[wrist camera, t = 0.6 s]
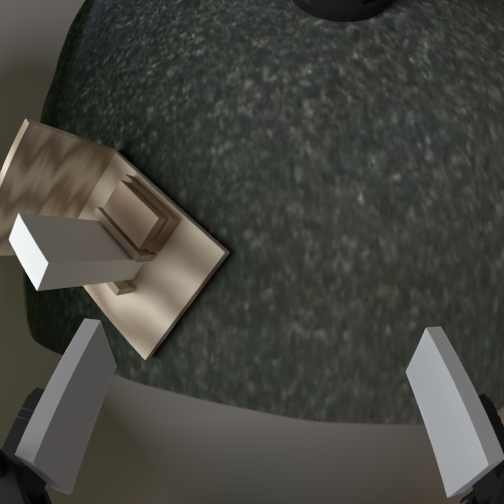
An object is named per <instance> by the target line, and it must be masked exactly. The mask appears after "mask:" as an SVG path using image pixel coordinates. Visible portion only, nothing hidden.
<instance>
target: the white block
mask: <svg viewBox="0 0 504 504" xmlns="http://www.w3.org/2000/svg"><path fill="white" fill-rule="evenodd" d="M9 241H10V243H11V245H12V247H13V249H14V251H15V253H16V254H17V256H18V258H19V260H20V262H21V264H22V265H23V267H24V269H25V271H26V273H27V274H28V276H29V278H30V279H31V281H32V283H33V285H34V286H35V288H36V290H37V291H40V290H48V289H57V288H66V287H74V286H83V285H91V284H100V283H108V282H116V281H124V280H132V279H134V278H135V276H136V275H137V273H138V271H139V270H140V268H141V267H142V265H143V264H144V262H136V261H135V260H134V259H133V258H132V257H131V256H130V255H129V253H128V252H127V251H126V250H125V249H124V248H123V247H122V246H121V245H120V243H119V242H118V241H117V240H116V239H115V238H114V237H113V235H112V234H111V233H110V232H109V231H108V230H107V229H106V227H105V226H104V225H103V224H102V223H101V222H100V221H96V220H86V219H76V218H65V217H55V216H44V215H34V214H23V213H18V216H17V218H16V221H15V224H14V226H13V229H12V232H11V234H10V237H9Z"/></svg>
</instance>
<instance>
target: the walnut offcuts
mask: <svg viewBox="0 0 504 504" xmlns="http://www.w3.org/2000/svg"><path fill="white" fill-rule="evenodd" d="M103 209H104V211H105V212H106V213H107V214H108V215H109V216H110V217H111V219H112V220H113V221H114V222H115V223H116V224H117V225H118V226H119V227H120V228H121V230H122V231H123V232H124V233H125V234H126V235H127V236H128V237H129V238H130V239H131V240H132V242H133V243H134V244H135V245H136V246H137V247H138V248H139V249H148V250H149V251H150V252H160V250H161V249H162V247H163V246H164V244H165V243H166V241H167V240H168V238H169V237H170V235H171V234H172V232H173V231H174V229H175V228H176V226H177V225H178V224H179V222H180V221H181V220H180V219H179V218H178V217H177V216H176V215H175V214H174V213H173V212H172V211H171V210H169V209H168V208H167V207H166V206H165V205H164V204H163V203H162V202H161V201H160V200H159V199H158V198H157V197H155V196H154V195H153V194H152V193H151V192H150V191H149V190H148V189H147V188H146V187H145V186H144V185H143V184H142V183H140V182H139V181H138V180H137V179H136V178H135V177H134V176H131V175H128V174H124V176H123V177H122V179H121V180H120V181H119V182H118V184H117V186H116V187H115V189H114V190H113V192H112V194H111V196H110V197H109V199H108V201H107V202H106V204H105V206H104V208H103Z"/></svg>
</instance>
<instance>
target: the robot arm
mask: <svg viewBox="0 0 504 504" xmlns="http://www.w3.org/2000/svg"><path fill="white" fill-rule="evenodd" d="M293 1H294V3H295V4H296V5H297V6H298V7H299V8H300V9H302V10H303V11H305V12H307V13H308V14H311V15H313V16H316V17H319V18H322V19H327V20H333V21H356V20H362V19H366V18H369V17H372V16H374V15H376V14H378V13H380V12H381V11H383V10H384V9H385V8H386V7H387V6H388V4H389V2H390V0H293ZM116 367H117V365H116V363H115V360H114V357H113V355H112V352H111V349H110V346H109V344H108V341H107V338H106V335H105V332H104V329H103V326H102V323H101V320H93V319H84V321H83V322H82V324H81V326H80V327H79V329H78V331H77V332H76V334H75V336H74V338H73V339H72V341H71V343H70V345H69V346H68V348H67V350H66V352H65V353H64V355H63V357H62V359H61V361H60V363H59V364H58V366H57V368H56V370H55V372H54V374H53V375H52V377H51V379H50V381H49V383H48V385H47V387H46V389H45V390H44V389H41V388H36V389H35V390H33V391H32V393H30V394H29V395H28V396H27V398H26V400H25V402H24V404H23V406H22V409H21V410H20V412H19V414H18V418H16V420H15V422H14V424H13V426H12V428H11V430H10V433H9V434H8V437H7V439H6V441H5V443H4V446H3V447H2V449H0V504H52V503H51V500H50V498H49V496H48V493H47V491H46V490H45V485H46V483H47V484H48V485H49V486H51V487H52V488H53V489H56V490H58V491H61V492H63V493H66V494H69V495H71V493H72V490H73V487H74V484H75V480H76V477H77V474H78V471H79V468H80V465H81V462H82V459H83V456H84V453H85V449H86V447H87V444H88V441H89V438H90V435H91V433H92V430H93V427H94V424H95V421H96V419H97V416H98V413H99V411H100V408H101V405H102V402H103V400H104V397H105V395H106V392H107V389H108V387H109V385H110V382H111V379H112V377H113V374H114V372H115V370H116ZM406 374H407V377H408V379H409V382H410V384H411V387H412V390H413V392H414V395H415V398H416V400H417V403H418V406H419V409H420V411H421V414H422V417H423V420H424V423H425V426H426V429H427V431H428V435H429V437H430V441H431V444H432V447H433V450H434V453H435V456H436V459H437V463H438V466H439V469H440V473H441V476H442V480H443V483H444V487H445V490H446V494H447V497H451V496H454V495H457V494H459V493H462V492H464V491H466V490H467V489H468V488H470V487H471V486H473V491H472V492H470V493H469V494H468V495H466V496H465V497H463V498H462V499H461V501H460V503H463V502H464V501H466V500H467V499H468V501H467V502H466V503H465V504H504V426H503V424H502V423H501V419H500V417H499V415H497V411H496V409H495V406H494V404H493V402H492V401H491V400H490V399H489V398H488V397H487V396H486V395H485V394H482V395H477V393H476V391H475V389H474V387H473V385H472V383H471V381H470V379H469V377H468V375H467V373H466V371H465V369H464V367H463V366H462V364H461V362H460V360H459V358H458V356H457V354H456V353H455V351H454V349H453V347H452V345H451V344H450V342H449V340H448V338H447V337H446V335H445V333H444V331H443V330H442V328H441V326H439V327H426V329H425V331H424V333H423V336H422V338H421V340H420V342H419V345H418V347H417V349H416V351H415V353H414V356H413V358H412V360H411V362H410V364H409V366H408V368H407V370H406Z"/></svg>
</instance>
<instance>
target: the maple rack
mask: <svg viewBox="0 0 504 504" xmlns="http://www.w3.org/2000/svg"><path fill="white" fill-rule="evenodd" d="M124 174H128V175H131V176H134V177H135V178H136V179H137V180H138V181H139V182H140V183H142V184H143V185H144V186H145V187H146V188H147V189H148V190H149V191H150V192H151V193H152V194H153V195H154V196H155V197H157V198H158V199H159V200H160V201H161V202H162V203H163V204H164V205H165V206H166V207H167V208H168V209H169V210H171V211H172V212H173V213H174V214H175V215H176V216H177V217H178V218H179V219H180V220H181V221H180V222H179V224H178V225H177V226H176V228H175V229H174V231H173V232H172V234H171V235H170V237H169V238H168V240H167V241H166V243H165V244H164V246H163V247H162V249H161V250H160V252H150V251H149V250H148V249H139V248H138V247H137V246H136V245H135V244H134V243H133V242H132V240H131V239H130V238H129V237H128V236H127V235H126V234H125V233H124V232H123V231H122V230H121V228H120V227H119V226H118V225H117V224H116V223H115V222H114V221H113V220H112V219H111V217H110V216H109V215H108V214H107V213H106V212H105V211H104V209H103V208H104V206H105V204H106V202H107V201H108V199H109V197H110V196H111V194H112V192H113V190H114V189H115V187H116V186H117V184H118V182H119V181H120V180H121V179H122V177H123V176H124ZM18 213H23V214H34V215H44V216H55V217H65V218H76V219H86V220H96V221H100V222H101V223H102V224H103V225H104V226H105V227H106V229H107V230H108V231H109V232H110V233H111V234H112V235H113V237H114V238H115V239H116V240H117V241H118V242H119V243H120V245H121V246H122V247H123V248H124V249H125V250H126V251H127V252H128V253H129V255H130V256H131V257H132V258H133V259H134V260H135V261H136V262H144V264H143V265H142V267H141V268H140V270H139V271H138V273H137V275H136V276H135V278H134V279H132V280H124V281H116V282H108V283H100V284H91V285H83V286H84V288H85V289H86V290H87V291H88V293H89V294H90V295H91V297H92V298H93V299H94V301H95V302H96V303H97V304H98V306H99V307H100V308H101V309H102V311H103V312H104V313H105V314H106V316H107V317H108V318H109V319H110V320H111V322H112V323H113V324H114V325H115V326H116V328H117V329H118V330H119V331H120V332H121V333H122V335H123V336H124V337H125V338H126V339H127V340H128V342H129V343H130V344H131V345H132V346H133V347H134V348H135V349H136V351H137V352H138V353H139V354H140V355H141V356H142V357H143V358H144V359H145V360H146V359H149V358H151V357H152V356H153V354H154V353H155V352H156V350H157V349H158V347H159V346H160V345H161V343H162V342H163V341H164V339H165V338H166V337H167V335H168V334H169V333H170V331H171V330H172V329H173V327H174V326H175V325H176V323H177V322H178V321H179V319H180V318H181V317H182V315H183V314H184V313H185V311H186V310H187V309H188V307H189V306H190V305H191V303H192V302H193V301H194V299H195V298H196V297H197V295H198V294H199V293H200V291H201V290H202V289H203V287H204V286H205V285H206V283H207V282H208V281H209V279H210V278H211V277H212V275H213V274H214V273H215V271H216V270H217V269H218V268H219V266H220V265H221V264H222V262H223V261H224V260H225V258H226V257H227V256H228V254H229V253H230V252H229V251H228V250H227V249H226V248H225V247H223V246H222V245H221V244H220V243H219V242H218V241H217V240H216V239H215V238H213V237H212V236H211V235H210V234H209V233H208V232H207V231H206V230H204V229H203V228H202V227H201V226H200V225H199V224H198V223H197V222H196V221H194V220H193V219H192V218H191V217H190V216H189V215H188V214H187V213H185V212H184V211H183V210H182V209H181V208H180V207H179V206H178V205H177V204H175V203H174V202H173V201H172V200H171V199H170V198H169V197H168V196H167V195H166V194H164V193H163V192H162V191H161V190H160V189H159V188H158V187H157V186H156V185H154V184H153V183H152V182H151V181H150V180H149V179H148V178H147V177H146V176H145V175H143V174H142V173H141V172H140V171H139V170H138V169H137V168H136V167H135V166H134V165H133V164H131V163H130V162H129V161H128V160H127V159H126V158H125V157H124V156H123V155H122V154H121V153H119V152H118V151H117V150H115V149H112V148H109V147H107V146H104V145H101V144H98V143H96V142H93V141H90V140H87V139H85V138H82V137H79V136H76V135H73V134H71V133H68V132H65V131H62V130H59V129H56V128H53V127H50V126H47V125H44V124H41V123H38V122H35V121H32V120H29V119H25V121H24V123H23V124H22V126H21V128H20V130H19V132H18V135H17V137H16V139H15V141H14V143H13V145H12V147H11V149H10V152H9V154H8V156H7V158H6V161H5V163H4V165H3V168H2V170H1V173H0V255H17V254H16V253H15V251H14V249H13V247H12V245H11V243H10V241H9V237H10V234H11V232H12V229H13V226H14V224H15V221H16V218H17V216H18Z"/></svg>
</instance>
